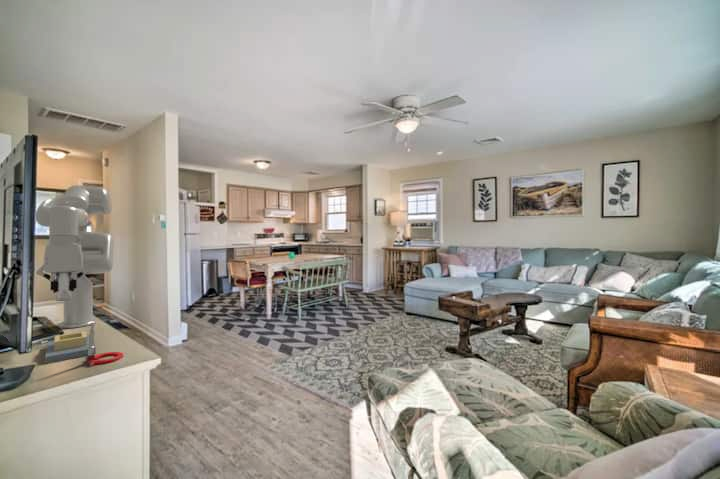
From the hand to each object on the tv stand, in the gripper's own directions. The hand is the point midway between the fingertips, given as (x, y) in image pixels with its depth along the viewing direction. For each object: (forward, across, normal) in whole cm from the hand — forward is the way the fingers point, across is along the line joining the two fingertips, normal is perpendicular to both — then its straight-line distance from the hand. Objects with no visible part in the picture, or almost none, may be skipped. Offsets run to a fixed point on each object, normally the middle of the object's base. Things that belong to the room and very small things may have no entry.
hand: (63, 291), depth 111 cm
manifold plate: (+20, -2, +6) cm, 21 cm away
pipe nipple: (+3, 0, 0) cm, 3 cm away
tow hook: (+21, -10, +23) cm, 33 cm away
